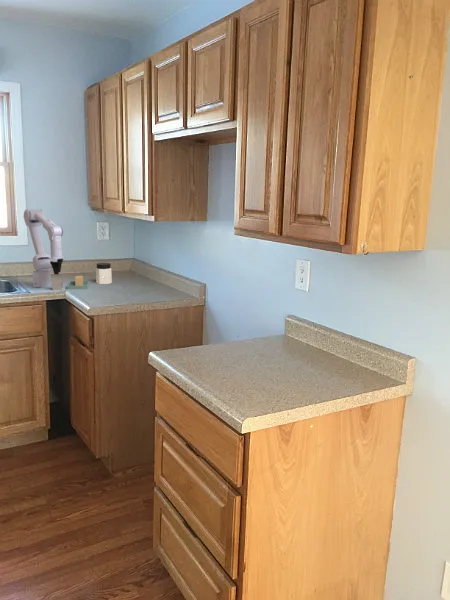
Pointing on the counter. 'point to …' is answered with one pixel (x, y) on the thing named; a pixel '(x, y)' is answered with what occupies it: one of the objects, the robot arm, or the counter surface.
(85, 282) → the tote
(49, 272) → the robot arm
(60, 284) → the concrete cube
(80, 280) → the tan box
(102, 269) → the jar
